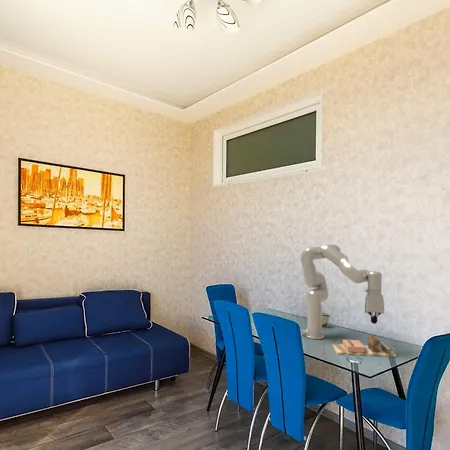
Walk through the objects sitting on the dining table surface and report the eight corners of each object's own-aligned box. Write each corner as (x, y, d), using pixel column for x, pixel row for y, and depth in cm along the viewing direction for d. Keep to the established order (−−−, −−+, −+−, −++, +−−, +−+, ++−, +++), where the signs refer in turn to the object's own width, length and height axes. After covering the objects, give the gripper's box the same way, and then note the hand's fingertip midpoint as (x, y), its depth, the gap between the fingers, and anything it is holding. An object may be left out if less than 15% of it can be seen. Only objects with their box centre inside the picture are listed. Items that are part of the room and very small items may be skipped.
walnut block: (372, 352, 200) (372, 340, 200) (367, 347, 208) (368, 335, 208) (379, 352, 199) (379, 340, 199) (374, 347, 207) (374, 336, 207)
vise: (337, 354, 199) (337, 347, 199) (332, 345, 213) (332, 339, 213) (396, 357, 196) (396, 349, 196) (387, 348, 210) (387, 341, 210)
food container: (327, 325, 256) (327, 312, 256) (329, 328, 250) (329, 314, 250) (310, 324, 257) (311, 311, 257) (312, 327, 251) (312, 313, 251)
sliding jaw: (347, 351, 199) (347, 344, 199) (342, 344, 211) (342, 337, 211) (365, 352, 198) (365, 345, 198) (359, 345, 210) (359, 338, 210)
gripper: (363, 293, 200) (362, 324, 201) (390, 294, 199) (389, 325, 199) (359, 290, 208) (359, 320, 208) (385, 291, 207) (384, 321, 207)
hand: (373, 323), depth 204 cm, fingers closed
